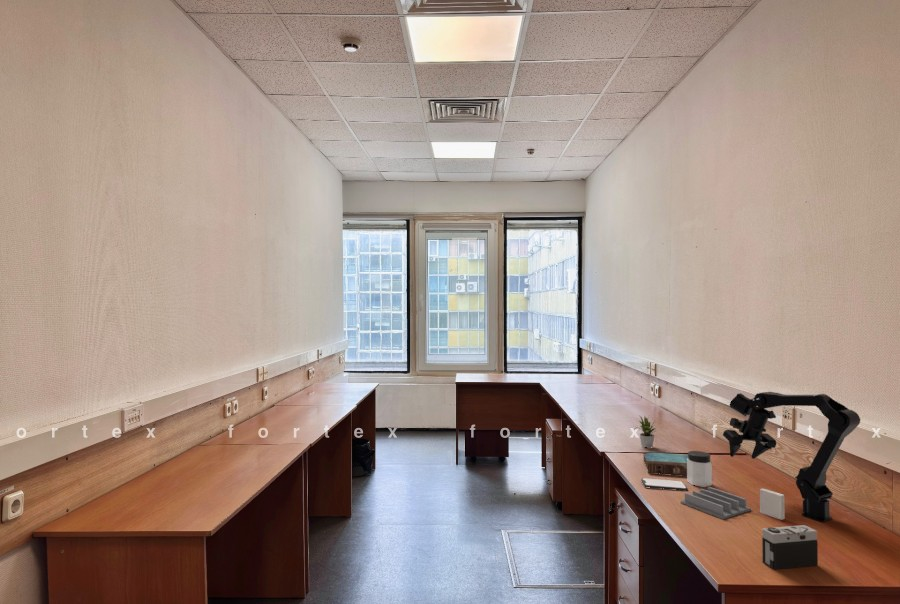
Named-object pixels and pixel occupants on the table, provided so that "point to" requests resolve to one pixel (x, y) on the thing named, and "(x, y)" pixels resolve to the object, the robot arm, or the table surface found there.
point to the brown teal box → (666, 463)
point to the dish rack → (716, 502)
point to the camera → (789, 547)
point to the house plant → (646, 433)
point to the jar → (699, 469)
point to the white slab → (772, 504)
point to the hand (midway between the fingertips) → (741, 457)
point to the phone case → (663, 484)
